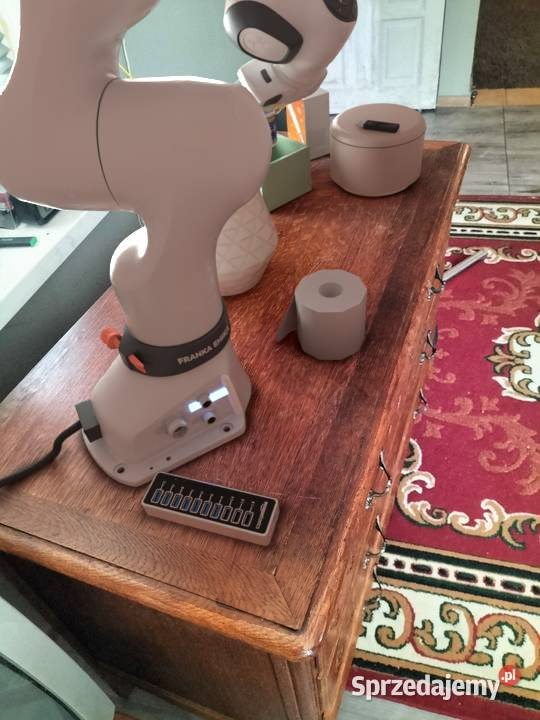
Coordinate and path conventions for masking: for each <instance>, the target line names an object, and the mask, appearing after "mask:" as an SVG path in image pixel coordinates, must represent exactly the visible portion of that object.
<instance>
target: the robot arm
mask: <svg viewBox="0 0 540 720" xmlns="http://www.w3.org/2000/svg"><path fill="white" fill-rule="evenodd" d="M160 2H161V0H19V14H20V15H19V30H18V31H19V32H18V39H17V48H16V52H15V58H14V61H13V64H12V68H11V71H10V73H9V76H8V78H7V80H6V82H5V84H4V86H3V87H2V89H1V90H0V185H1V187H2V188H3V189H4V190H5V191H6V192H7V193H8V194H9V195H10V196H12V197H13V198H15V199H17V200H19V201H22V202H25V203H26V202H27V203H30V204H34V205H38V206H42V207H45V208H49V209H56V210H61V211H65V212H128V213H134V214H137V215H138V217H140V219H141V221H142V223H143V227H141V228H139V229H137V230H135V231H134V232H133V233H132V234H130V235H129V236H127V237H126V238H125V239H124V240H123V241H122V242H121V243H120V244H118V246H117V248H116V249H115V251H114V253H113V255H112V257H111V261H110V265H109V266H110V267H109V280H110V283H111V287H112V288H113V291H114V293H115V294H114V295H115V296H116V299H117V302H118V304H119V307H120V310H121V312H122V315H123V318H124V320H125V321H124V325H123V334H120V333H119V332H118V331H117V330H116V329H115V328H114V327H112V326H109V327H105V328H104V329H103V330H101V332H100V334H99V337H100V340H101V342H102V343H104V344H105V345H106V346H107V348H108V349H110V350H118V355H117V356H116V358H115V359H114V360H113V362H112V363H111V364H110V366H109V367H108V369H107V370H106V371H105V372H104V374H103V375H102V377H101V378H100V380H99V381H98V382H97V383H96V384H95V386H94V387H93V389H92V392H91V398H88V399H86V400H83V401H81V402H78V403H76V404H74V407H75V410H76V411H75V412H76V414H77V417H78V419H79V420H77V421H76V422H74V423H72V424H71V425H70V426H68V427H67V428H65V429H64V430H63V431H61V432H60V433H59V434H58V435H57V436H56V438H55V439H54V440H53V444H52V449H51V450H50V451H49V452H48V453H47V454H46V455H44V456H43V457H42V458H40V459H39V460H37V461H36V462H34V463H32V464H30V465H29V466H27V467H25V468H22V469H20V470H17V471H15V472H13V473H11V474H9V475H6V476H4V477H1V478H0V489H2V488H4V487H6V486H8V485H10V484H13V483H15V482H18V481H19V480H23V479H24V478H26V477H28V476H30V475H32V474H33V473H35V472H37V471H39V470H41V469H42V468H44V467H45V466H47V465H49V464H50V463H51V462H52V461H54V460H55V459H56V458H57V457H58V456H59V455H60V453H61V452H62V448H63V443H64V442H66V440H67V439H68V438H71V436H72V435H74V434H76V433H77V432H78V431H80V430H81V433H82V438H83V441H84V444H85V446H86V448H87V451H88V452H89V454H90V457H92V458H93V460H94V462H95V463H96V464H97V466H99V468H100V469H101V470H102V471H103V472H104V473H105V474H106V475H108V476H109V477H110V478H112V480H115V481H116V482H118V483H120V484H123V485H125V486H129V487H135V488H137V487H140V486H143V485H145V484H147V483H149V482H152V480H153V479H154V477H155V475H156V473H157V472H159V471H162V472H166V473H170V472H171V471H173V470H175V469H177V468H178V467H180V466H183V465H185V464H186V463H189V462H191V461H193V460H195V459H197V458H199V457H200V456H203V455H205V454H207V453H208V452H211V451H212V450H214V449H216V448H220V447H221V446H223V445H224V444H226V443H229V442H231V441H232V440H235V439H237V438H239V437H240V436H242V435H243V434H244V433H245V431H246V429H247V419H246V411H247V408H248V405H249V403H250V400H251V396H252V381H251V379H250V376H249V375H248V373H247V371H246V370H245V368H244V367H243V365H242V363H241V361H240V359H239V357H238V354H237V352H236V349H235V347H234V344H233V341H232V337H231V335H232V325H231V320H230V315H229V310H228V306H227V303H226V300H225V299H224V296H221V294H220V289H219V283H218V275H217V266H216V246H217V241H218V238H219V236H220V233H221V231H222V229H223V227H224V225H225V224H226V222H227V221H228V220H229V219H230V217H231V216H232V215H233V214H234V213H235V212H236V211H237V210H239V209H240V208H241V207H242V206H244V205H245V204H247V203H248V202H249V201H250V200H251V199H252V198H253V197H254V196H255V195H256V193H257V192H258V191H259V189H260V188H261V186H262V185H263V183H264V181H265V178H266V176H267V174H268V170H269V167H270V163H271V157H272V138H271V132H270V127H269V124H268V121H267V118H266V115H265V114H268V113H270V112H272V111H275V116H276V115H279V114H280V112H281V111H282V110H283V109H285V108H286V106H287V105H289V104H291V103H294V102H296V101H298V100H301V99H303V98H305V97H308V96H310V95H312V94H313V93H314V92H316V91H317V90H318V88H319V87H320V88H321V86H322V84H323V82H324V81H325V80H326V78H327V75H328V73H329V71H328V67H329V66H330V64H331V63H333V61H334V60H335V59H336V58H337V56H338V55H339V53H340V52H341V51H342V49H343V48H344V46H345V45H346V44H347V41H348V40H349V38H350V37H351V35H352V33H353V31H354V29H355V27H356V25H357V23H358V22H357V21H358V16H359V5H358V1H357V0H225V4H224V5H225V6H224V11H223V12H224V13H223V18H222V24H223V29H224V33H225V35H226V36H227V38H228V39H229V41H230V43H231V44H232V45H233V46H234V47H236V49H237V50H239V51H240V52H241V53H243V54H245V55H246V56H249V57H250V58H252V59H251V60H249V61H248V62H246V63H244V64H243V65H242V66H240V68H239V69H238V71H237V77H238V79H237V80H236V81H235V82H234V83H233V82H227V81H223V80H219V79H218V80H217V79H212V78H206V77H200V76H194V75H177V76H175V75H174V76H154V77H153V76H152V77H151V76H150V77H131V78H130V77H128V78H127V77H126V78H122V77H121V75H120V52H121V47H122V44H123V40H124V38H125V37H126V34H127V32H128V31H130V30H131V29H132V28H133V27H135V26H136V25H137V24H139V23H141V21H143V20H144V19H145V18H146V17H147V16H148V15H150V14H151V13H152V12H153V11H154V10H155V8H156V7H157V6H158V5H159V3H160Z"/></svg>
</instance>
